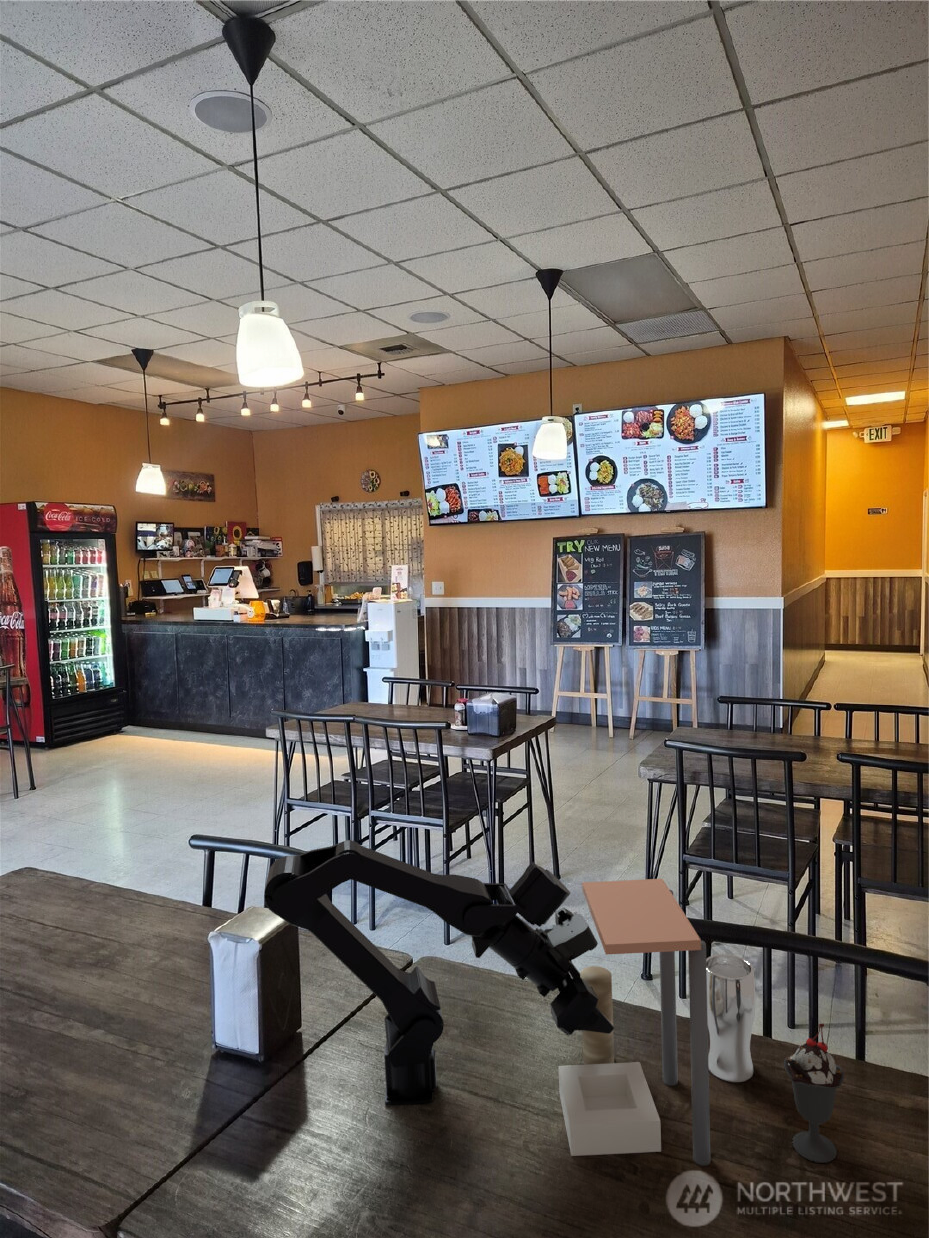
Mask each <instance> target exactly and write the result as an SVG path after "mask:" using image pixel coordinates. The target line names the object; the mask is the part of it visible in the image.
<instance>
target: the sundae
mask: <svg viewBox="0 0 929 1238" xmlns="http://www.w3.org/2000/svg"><path fill="white" fill-rule="evenodd" d="M823 1027H825V1024H824V1023H818V1032H817V1034H816V1035H815V1036H814V1037H813V1038H811V1037H809V1038H807V1039H806V1042H805V1043H804V1044H801V1045H799V1046H798V1048H797V1049H796V1051H795V1053H794V1054H793V1053H792V1054H791V1055H788V1056H787V1057H785V1059H784V1060H783V1066H784V1070H785V1071H786V1073H787V1076H788V1077H789V1078H790V1079H791V1085H792V1093H793V1097H794V1102H795V1105H796V1110H797V1112H798V1113H799V1114H800V1115H801V1117H802V1118H803V1119H804V1120H806V1121H807V1122H808V1131H807V1130H806V1131H800V1132H798V1133H796V1134H795V1135H793V1138H792V1140H793V1141H792V1140H791V1141H792V1143H793V1144H792V1147H793V1148H795V1149H794V1150H795V1151H796V1152H797V1154H799V1155H800V1156H801V1157H803V1159H806V1160H808V1161H810V1162H813V1161H814V1162H813V1163H820V1164H824V1163H830V1162H831V1161H833V1160H834V1159H836V1157H837V1152H838V1151H837V1147H836V1146H835V1144H834V1143H833V1141H831V1140H830V1139H829V1138H828V1137H826V1136H825V1135H823V1134H820V1125H823V1124H825V1123H827V1122H828V1121H829V1120H830V1119H831V1118H832V1115H833V1111H834V1107H835V1101H836V1096H837V1095H836V1094H837V1093H836V1092H837V1089H839V1088H840V1087H841V1086H842V1085H843V1082H844V1080H845V1074H844V1069H843V1068H842V1067H841V1066H840V1065H838V1063H836V1061H835V1059H834V1057H833V1056H832V1055H831V1053H829V1052H828V1048H829V1047H828V1045H827V1044H826V1043H825V1041H824V1034H823ZM820 1032H821V1033H820ZM819 1034H820V1035H821V1041H818V1042H817V1041H816V1038H817V1037H818V1035H819Z"/></svg>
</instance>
